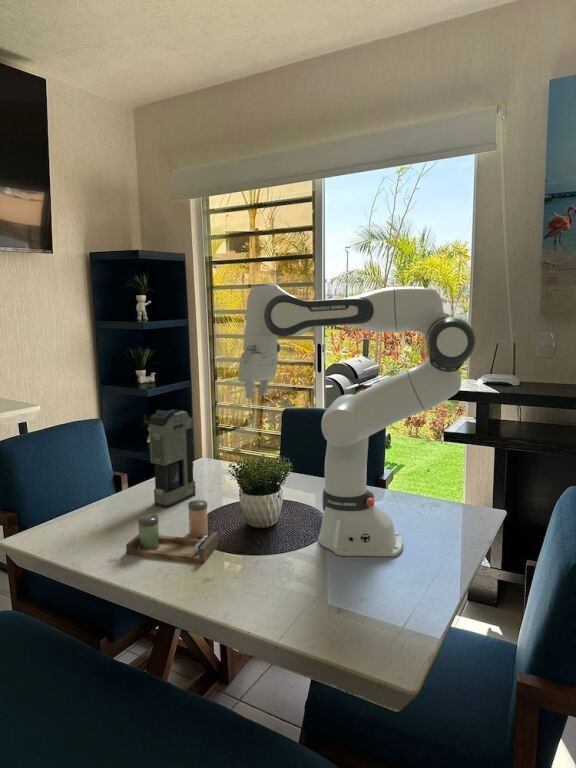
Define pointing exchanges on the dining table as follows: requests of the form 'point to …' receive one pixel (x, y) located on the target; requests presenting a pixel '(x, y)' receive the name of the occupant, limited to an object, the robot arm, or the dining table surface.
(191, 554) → the wooden tray
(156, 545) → the olive jar
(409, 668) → the dining table surface
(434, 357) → the robot arm
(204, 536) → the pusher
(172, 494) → the device
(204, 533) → the terracotta jar
